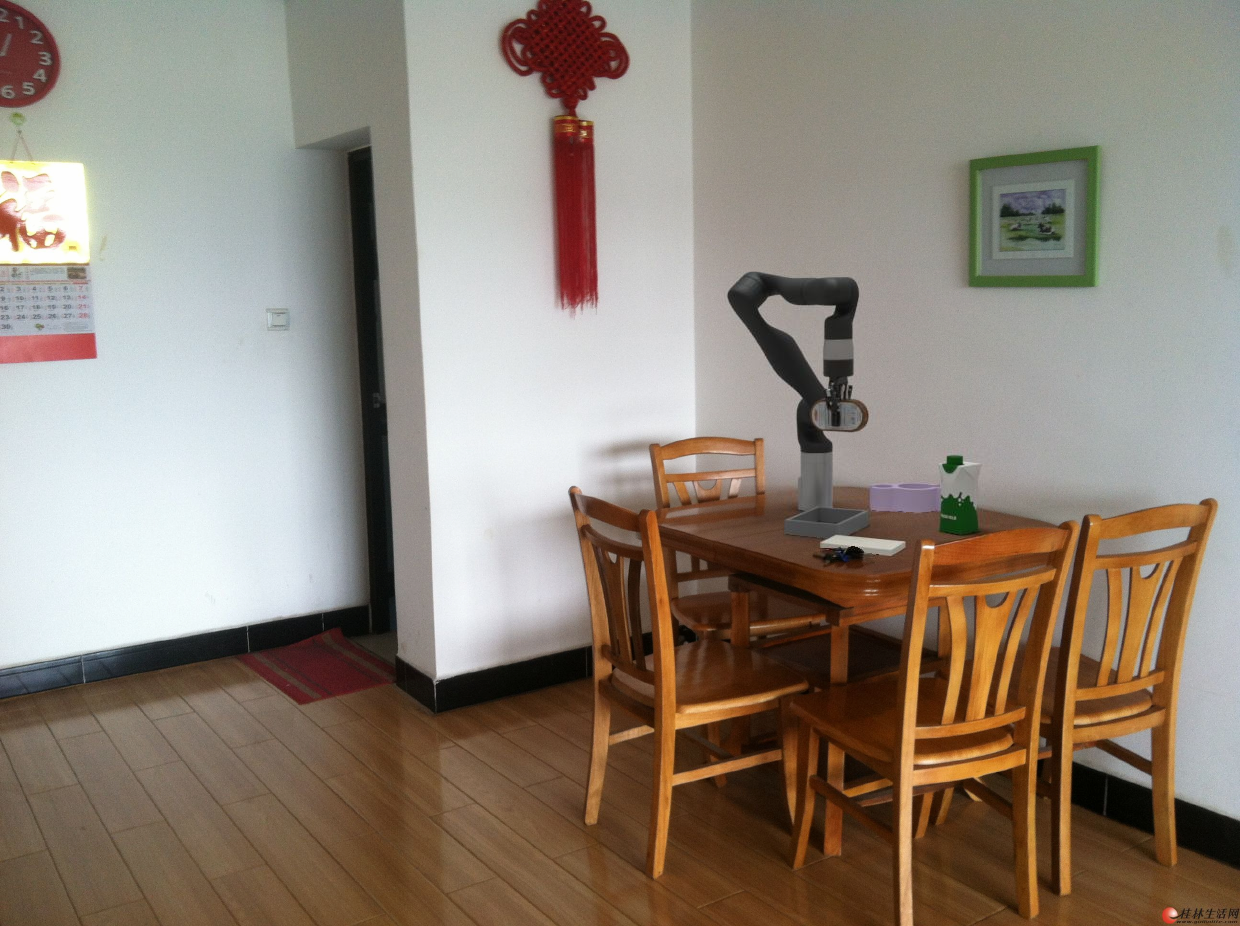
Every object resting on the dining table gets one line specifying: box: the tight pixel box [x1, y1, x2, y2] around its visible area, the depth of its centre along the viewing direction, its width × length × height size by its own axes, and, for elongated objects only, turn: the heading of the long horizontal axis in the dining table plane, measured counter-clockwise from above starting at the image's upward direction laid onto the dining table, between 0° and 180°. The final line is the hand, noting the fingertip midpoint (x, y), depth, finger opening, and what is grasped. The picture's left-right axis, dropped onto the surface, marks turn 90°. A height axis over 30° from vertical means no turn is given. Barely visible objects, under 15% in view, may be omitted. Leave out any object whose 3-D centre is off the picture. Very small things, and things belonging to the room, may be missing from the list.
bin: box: [784, 506, 870, 540], centre depth 284 cm, size 15×21×4 cm
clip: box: [869, 482, 941, 514], centre depth 310 cm, size 20×12×7 cm, turn 81°
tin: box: [810, 398, 870, 433], centre depth 271 cm, size 15×3×8 cm, turn 56°
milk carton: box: [938, 454, 982, 536], centre depth 276 cm, size 9×9×20 cm
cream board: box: [819, 535, 906, 557], centre depth 262 cm, size 18×10×2 cm, turn 56°
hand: (838, 425), depth 271 cm, fingers closed on tin, 2 cm apart
